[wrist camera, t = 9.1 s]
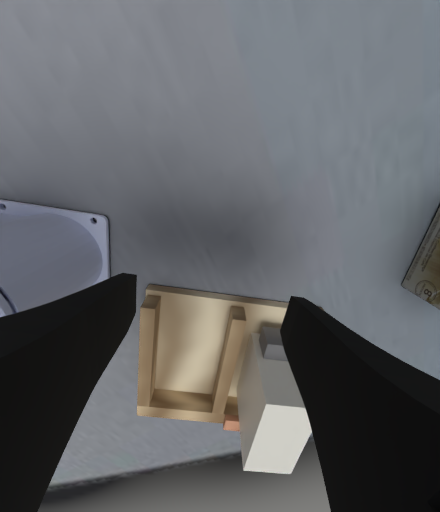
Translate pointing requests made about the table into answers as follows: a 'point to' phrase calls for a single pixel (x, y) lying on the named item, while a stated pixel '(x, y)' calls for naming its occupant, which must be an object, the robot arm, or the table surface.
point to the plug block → (270, 407)
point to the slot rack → (197, 352)
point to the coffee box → (427, 267)
